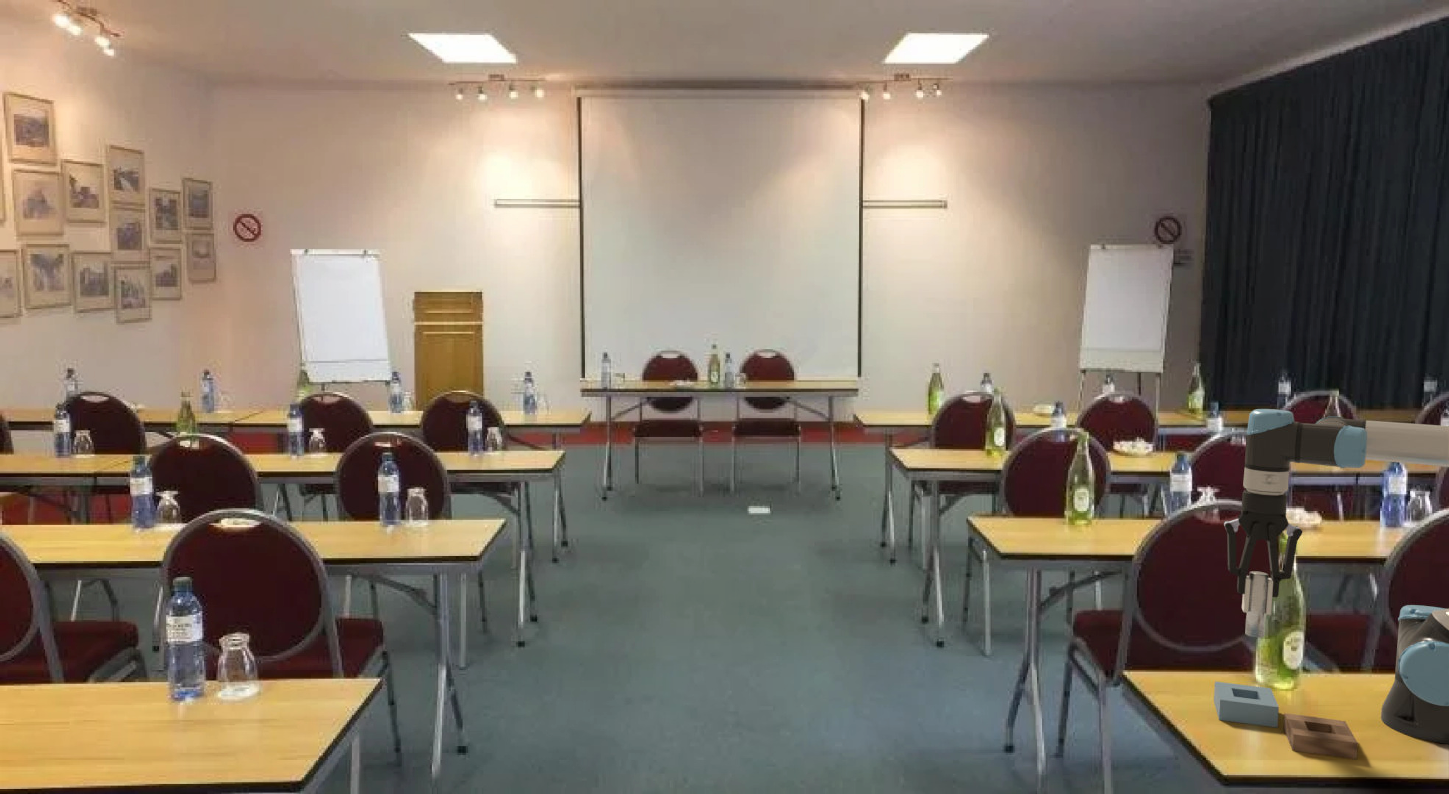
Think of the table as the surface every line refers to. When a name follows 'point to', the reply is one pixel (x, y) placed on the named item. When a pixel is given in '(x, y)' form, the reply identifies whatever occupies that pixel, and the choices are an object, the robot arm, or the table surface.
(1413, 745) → the table surface
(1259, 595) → the pin
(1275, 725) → the docking socket
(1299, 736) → the block
